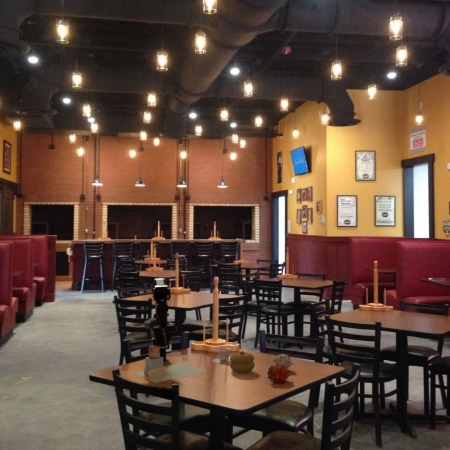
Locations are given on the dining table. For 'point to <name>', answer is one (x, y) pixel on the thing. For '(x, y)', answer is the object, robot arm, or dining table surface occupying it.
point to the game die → (283, 360)
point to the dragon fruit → (278, 373)
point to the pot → (242, 362)
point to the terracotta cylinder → (154, 352)
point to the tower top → (153, 362)
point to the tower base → (154, 372)
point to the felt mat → (173, 372)
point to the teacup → (223, 355)
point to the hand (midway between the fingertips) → (161, 344)
